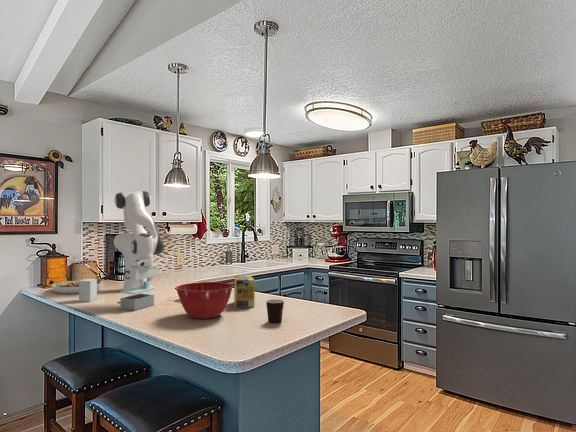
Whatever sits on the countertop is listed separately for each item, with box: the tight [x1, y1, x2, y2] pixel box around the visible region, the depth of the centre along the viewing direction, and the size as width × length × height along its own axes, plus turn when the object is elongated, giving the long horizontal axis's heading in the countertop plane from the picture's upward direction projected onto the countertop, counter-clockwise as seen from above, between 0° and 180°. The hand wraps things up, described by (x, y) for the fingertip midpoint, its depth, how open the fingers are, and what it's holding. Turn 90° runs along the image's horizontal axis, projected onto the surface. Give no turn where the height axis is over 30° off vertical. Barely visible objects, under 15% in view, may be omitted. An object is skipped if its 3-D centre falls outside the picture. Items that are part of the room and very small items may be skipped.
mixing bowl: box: [176, 281, 234, 320], centre depth 201 cm, size 28×28×16 cm
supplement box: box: [78, 278, 98, 303], centre depth 235 cm, size 7×7×13 cm
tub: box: [119, 293, 155, 312], centre depth 219 cm, size 15×10×6 cm, turn 158°
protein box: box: [233, 275, 256, 309], centre depth 227 cm, size 10×15×16 cm
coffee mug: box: [266, 298, 285, 325], centre depth 191 cm, size 12×9×10 cm
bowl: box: [51, 278, 103, 295], centre depth 269 cm, size 30×30×8 cm
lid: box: [119, 281, 156, 295], centre depth 219 cm, size 16×11×4 cm
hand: (145, 286), depth 224 cm, fingers closed on lid, 2 cm apart
